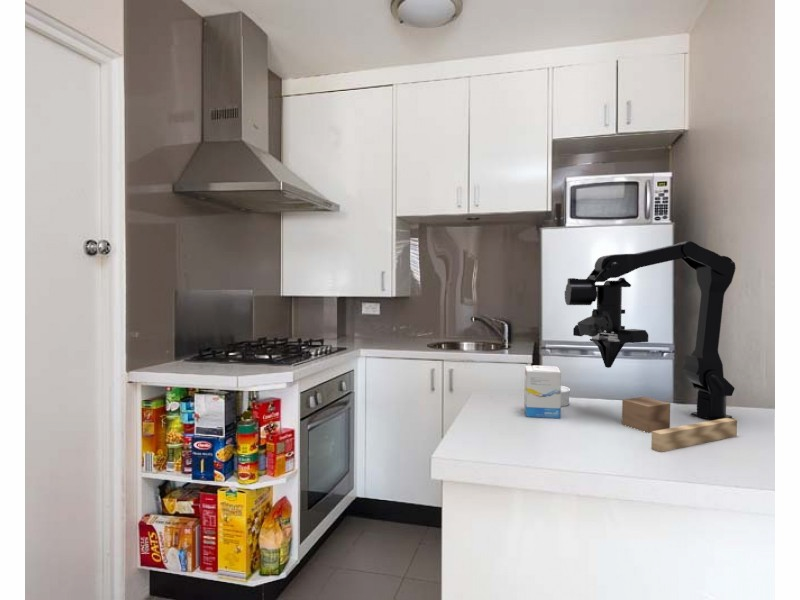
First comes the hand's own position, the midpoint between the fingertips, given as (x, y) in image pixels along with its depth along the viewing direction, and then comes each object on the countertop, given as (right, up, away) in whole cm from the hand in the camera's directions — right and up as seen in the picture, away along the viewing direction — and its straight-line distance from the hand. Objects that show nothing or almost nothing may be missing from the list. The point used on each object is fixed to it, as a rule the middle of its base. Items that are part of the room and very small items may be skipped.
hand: (608, 367), depth 121 cm
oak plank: (+9, -13, -21) cm, 26 cm away
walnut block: (+4, -13, -10) cm, 16 cm away
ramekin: (-10, -12, +12) cm, 20 cm away
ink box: (-16, -12, +2) cm, 20 cm away
